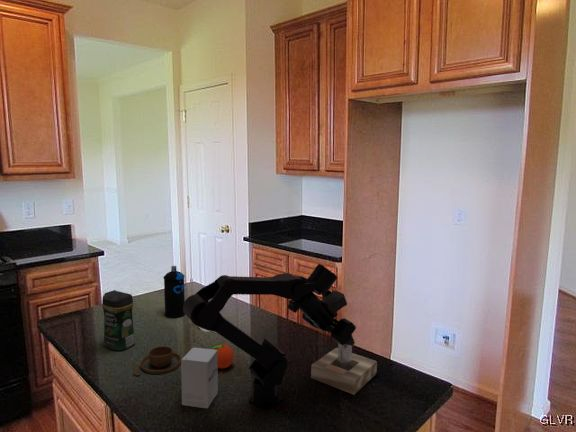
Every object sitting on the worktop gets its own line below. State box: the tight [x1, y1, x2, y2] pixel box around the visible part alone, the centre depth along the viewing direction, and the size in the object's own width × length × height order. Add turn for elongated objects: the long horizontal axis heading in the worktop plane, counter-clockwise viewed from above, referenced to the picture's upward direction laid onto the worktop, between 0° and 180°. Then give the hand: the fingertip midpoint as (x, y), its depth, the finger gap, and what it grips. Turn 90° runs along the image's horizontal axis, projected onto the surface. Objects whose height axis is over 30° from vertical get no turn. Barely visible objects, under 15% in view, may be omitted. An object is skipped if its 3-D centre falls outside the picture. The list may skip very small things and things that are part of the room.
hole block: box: [310, 347, 378, 396], centre depth 121 cm, size 14×14×4 cm
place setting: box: [132, 345, 182, 377], centre depth 123 cm, size 18×20×6 cm
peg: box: [337, 342, 353, 371], centre depth 121 cm, size 4×4×12 cm
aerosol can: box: [162, 265, 186, 319], centre depth 165 cm, size 8×8×20 cm
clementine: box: [210, 343, 235, 370], centre depth 125 cm, size 8×7×7 cm
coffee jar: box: [101, 289, 136, 352], centre depth 138 cm, size 10×8×19 cm
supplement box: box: [180, 347, 219, 409], centre depth 108 cm, size 7×7×13 cm
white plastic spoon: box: [198, 327, 219, 335], centre depth 150 cm, size 3×20×2 cm, turn 57°
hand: (343, 337), depth 120 cm, fingers open, 9 cm apart
